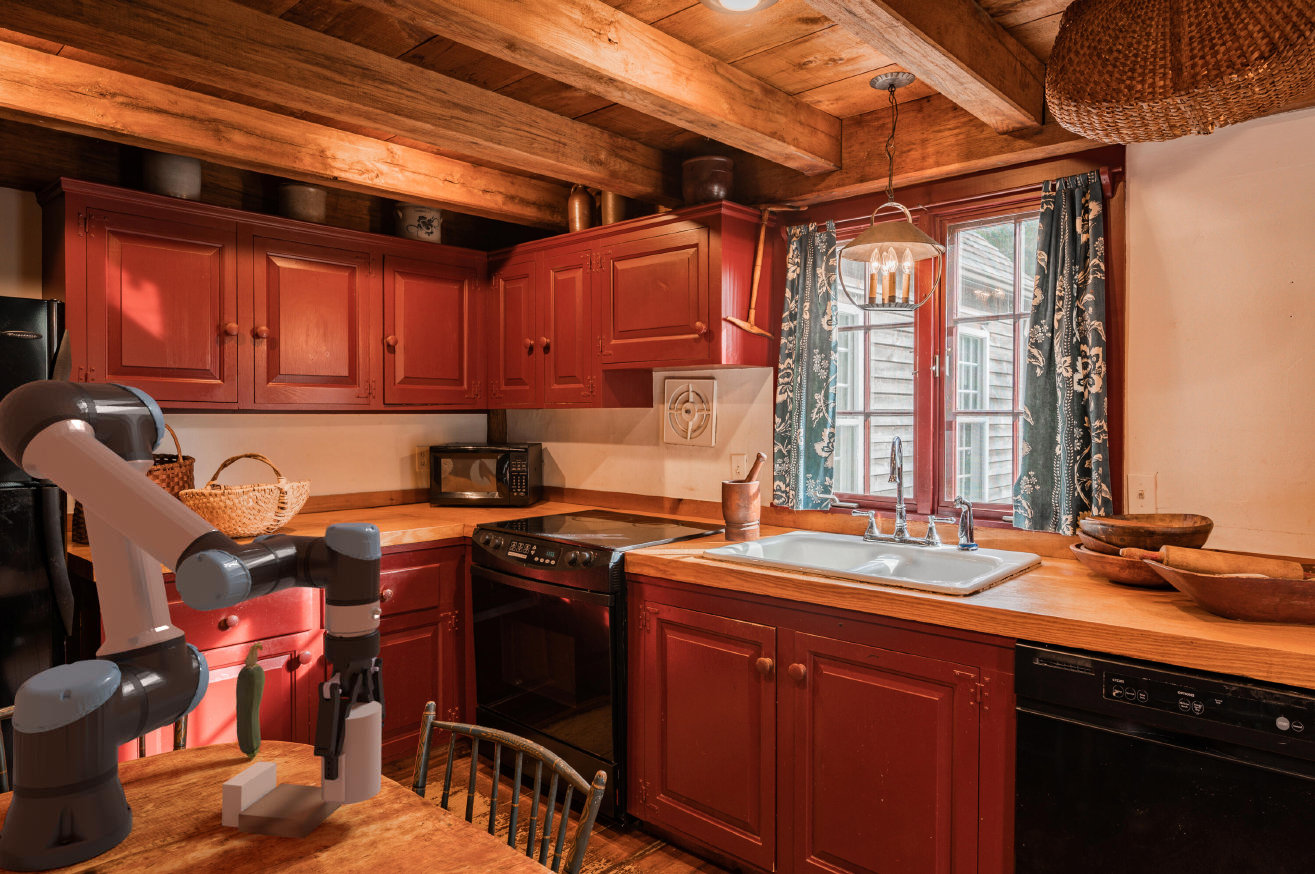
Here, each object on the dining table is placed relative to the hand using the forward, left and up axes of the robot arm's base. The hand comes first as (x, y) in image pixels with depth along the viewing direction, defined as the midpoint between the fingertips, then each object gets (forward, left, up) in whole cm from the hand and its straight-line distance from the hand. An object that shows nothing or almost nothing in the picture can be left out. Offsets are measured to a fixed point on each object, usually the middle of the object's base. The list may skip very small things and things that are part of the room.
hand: (351, 785), depth 116 cm
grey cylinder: (0, 0, -1) cm, 1 cm away
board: (-9, 0, -6) cm, 11 cm away
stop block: (-16, 0, -5) cm, 17 cm away
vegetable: (-29, +18, -6) cm, 35 cm away
